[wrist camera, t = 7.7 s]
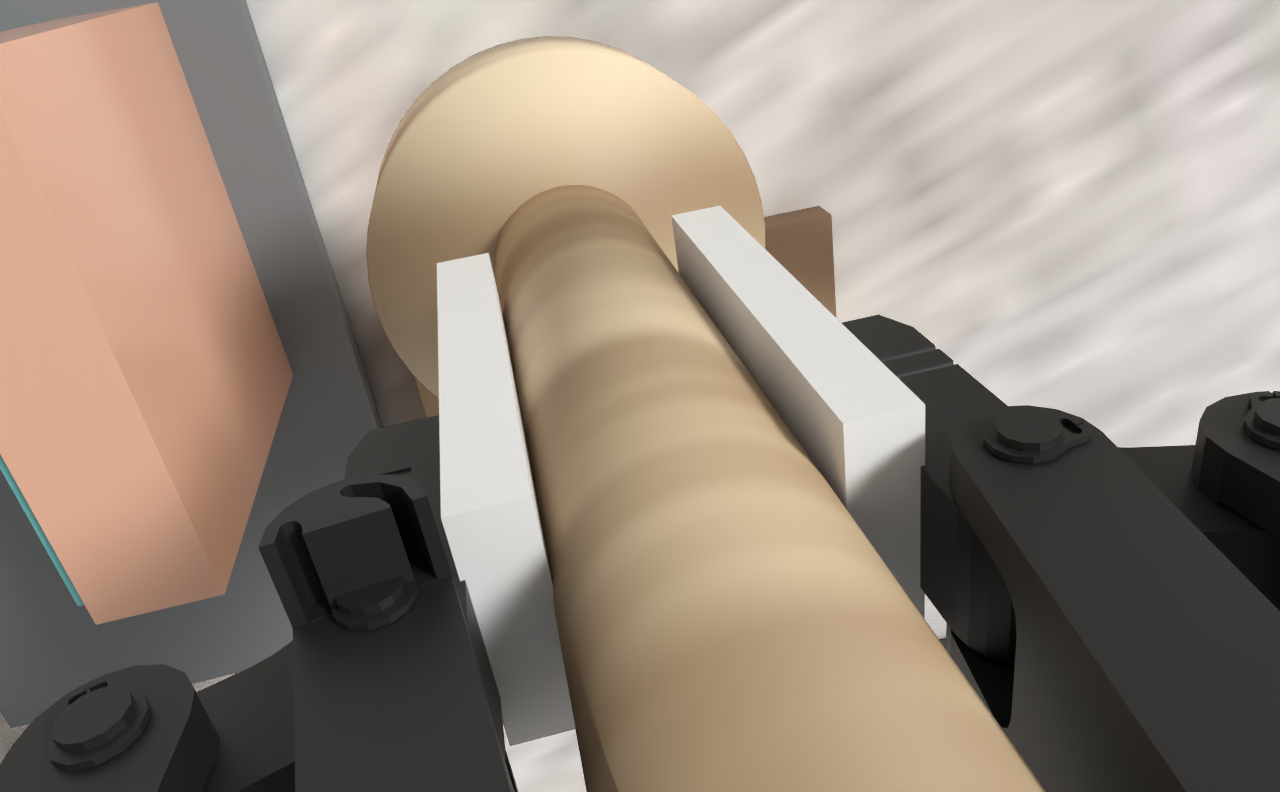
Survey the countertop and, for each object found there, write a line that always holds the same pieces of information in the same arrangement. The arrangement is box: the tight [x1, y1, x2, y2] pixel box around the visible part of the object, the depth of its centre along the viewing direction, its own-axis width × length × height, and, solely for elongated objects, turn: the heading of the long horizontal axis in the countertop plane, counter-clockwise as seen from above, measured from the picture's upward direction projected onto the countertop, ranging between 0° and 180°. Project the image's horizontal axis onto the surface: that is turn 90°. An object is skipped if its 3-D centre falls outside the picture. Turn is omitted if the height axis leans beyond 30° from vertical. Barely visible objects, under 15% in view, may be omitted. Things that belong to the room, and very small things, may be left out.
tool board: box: [414, 206, 836, 418], centre depth 30 cm, size 13×13×1 cm
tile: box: [0, 2, 293, 625], centre depth 20 cm, size 10×3×10 cm, turn 8°
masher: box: [366, 36, 1047, 792], centre depth 12 cm, size 7×7×16 cm
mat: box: [0, 0, 383, 728], centre depth 25 cm, size 26×14×1 cm, turn 8°
